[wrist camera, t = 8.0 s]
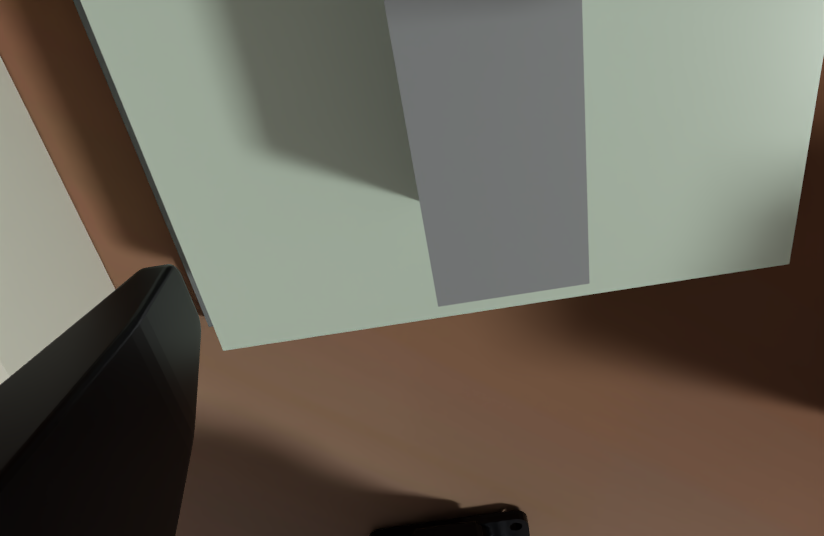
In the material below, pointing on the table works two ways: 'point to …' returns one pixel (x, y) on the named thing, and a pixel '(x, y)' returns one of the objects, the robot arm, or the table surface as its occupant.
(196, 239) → the lid
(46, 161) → the storage box
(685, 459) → the table surface
